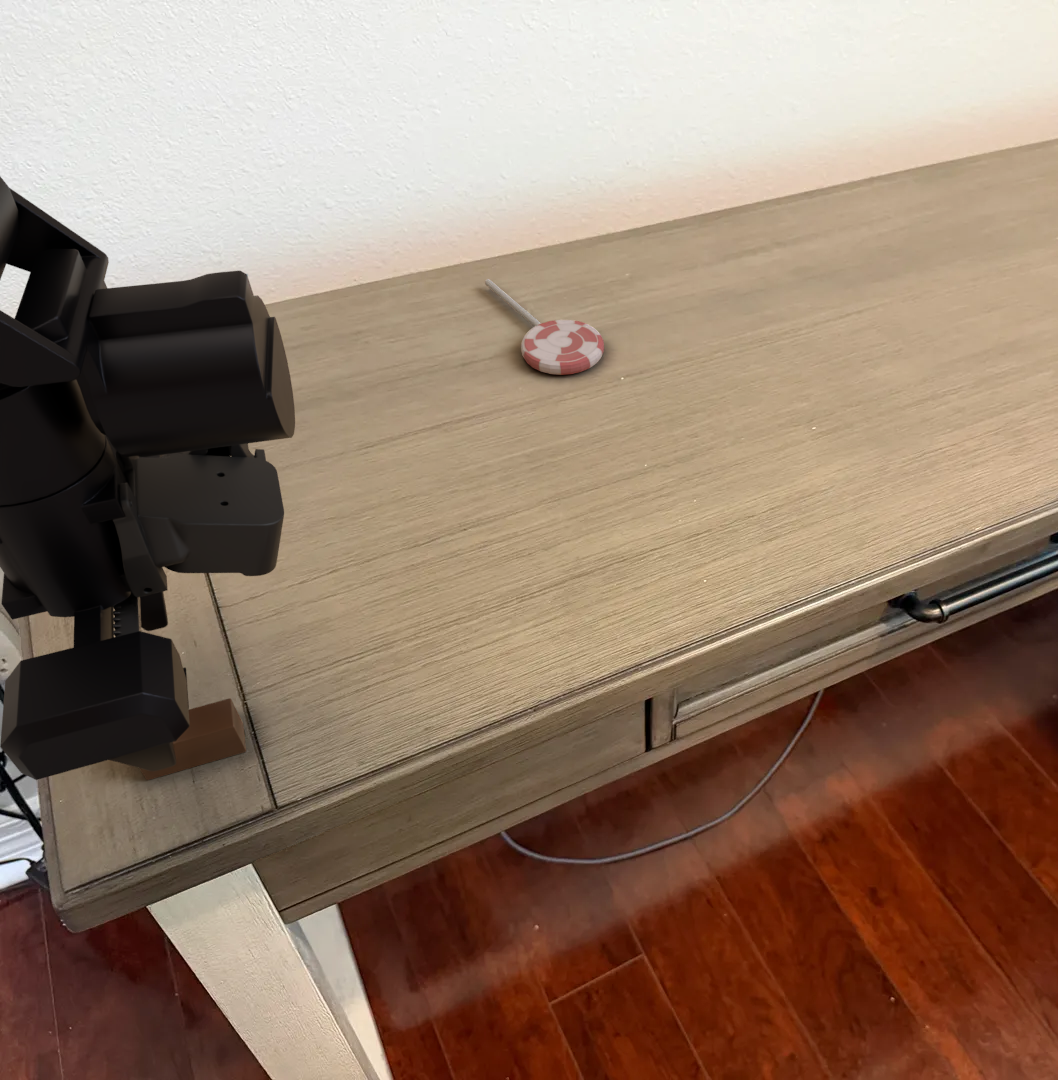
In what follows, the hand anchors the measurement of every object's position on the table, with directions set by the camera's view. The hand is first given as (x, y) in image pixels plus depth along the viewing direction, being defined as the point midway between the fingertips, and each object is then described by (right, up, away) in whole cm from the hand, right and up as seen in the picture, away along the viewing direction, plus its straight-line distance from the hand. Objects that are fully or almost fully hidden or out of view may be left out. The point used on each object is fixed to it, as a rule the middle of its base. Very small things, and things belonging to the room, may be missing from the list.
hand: (161, 692), depth 52 cm
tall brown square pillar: (0, -4, +4) cm, 5 cm away
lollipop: (+13, +25, +33) cm, 44 cm away
